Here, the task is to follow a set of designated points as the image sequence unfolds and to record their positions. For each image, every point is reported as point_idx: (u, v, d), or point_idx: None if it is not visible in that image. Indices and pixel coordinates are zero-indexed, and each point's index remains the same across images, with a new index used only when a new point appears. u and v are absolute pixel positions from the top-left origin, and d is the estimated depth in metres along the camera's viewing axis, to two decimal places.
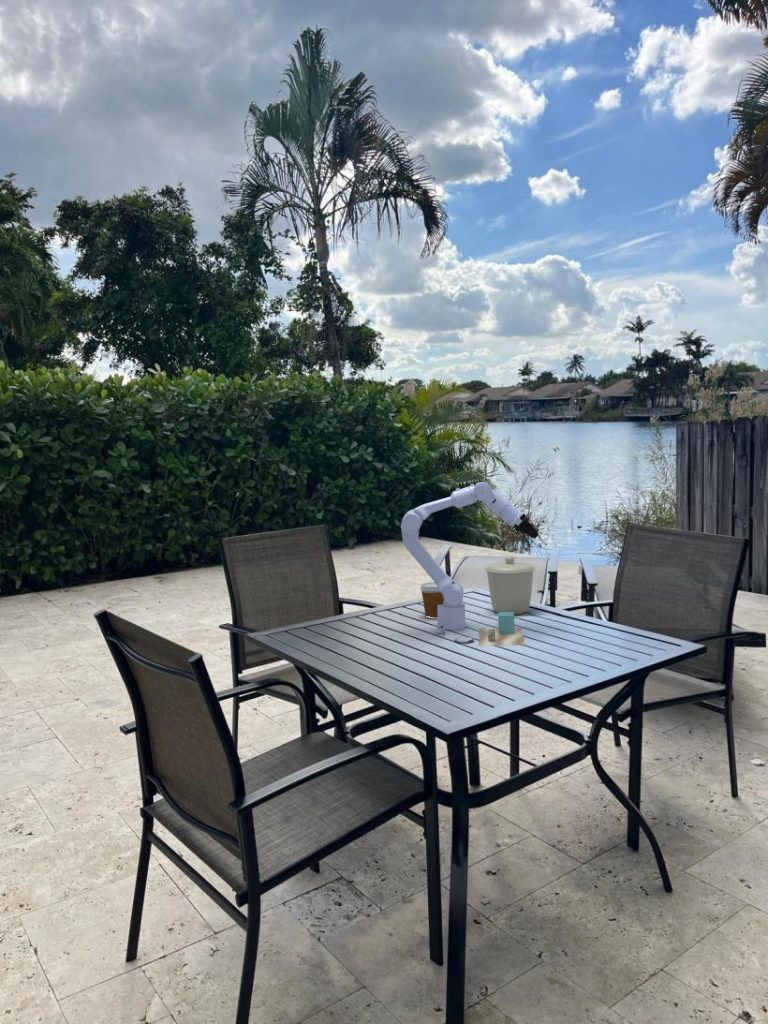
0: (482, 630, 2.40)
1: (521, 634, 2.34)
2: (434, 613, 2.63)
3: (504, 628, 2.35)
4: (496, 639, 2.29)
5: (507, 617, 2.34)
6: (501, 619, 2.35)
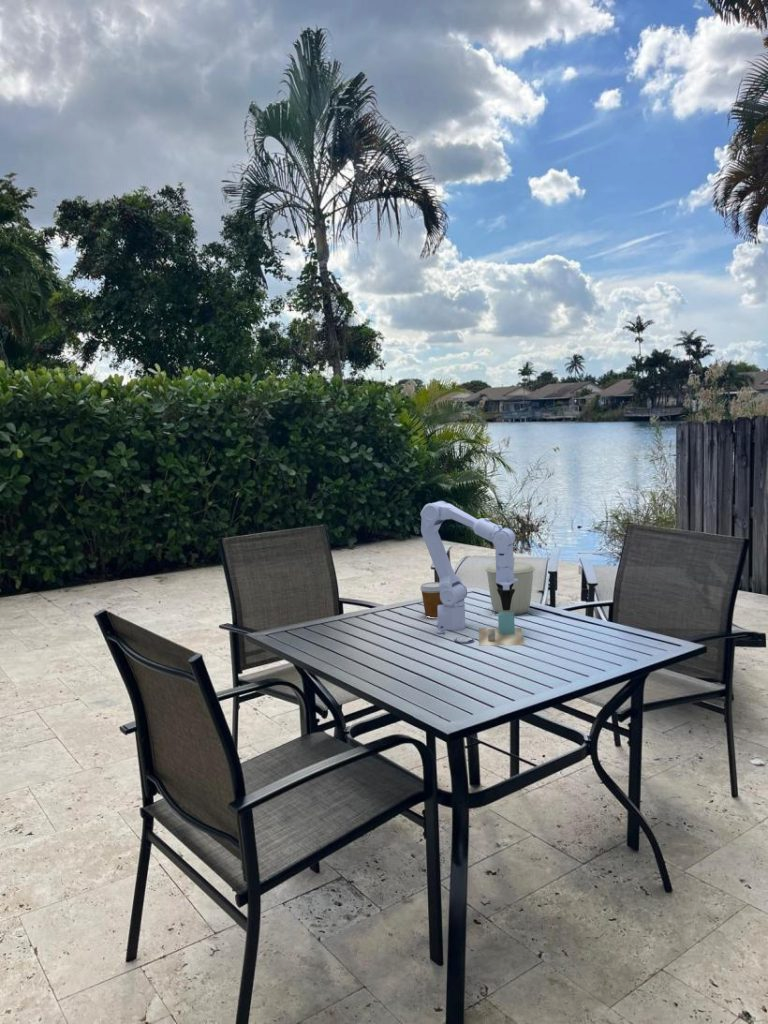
0: (482, 630, 2.40)
1: (521, 634, 2.34)
2: (434, 613, 2.63)
3: (504, 628, 2.35)
4: (496, 639, 2.29)
5: (507, 617, 2.34)
6: (501, 619, 2.35)
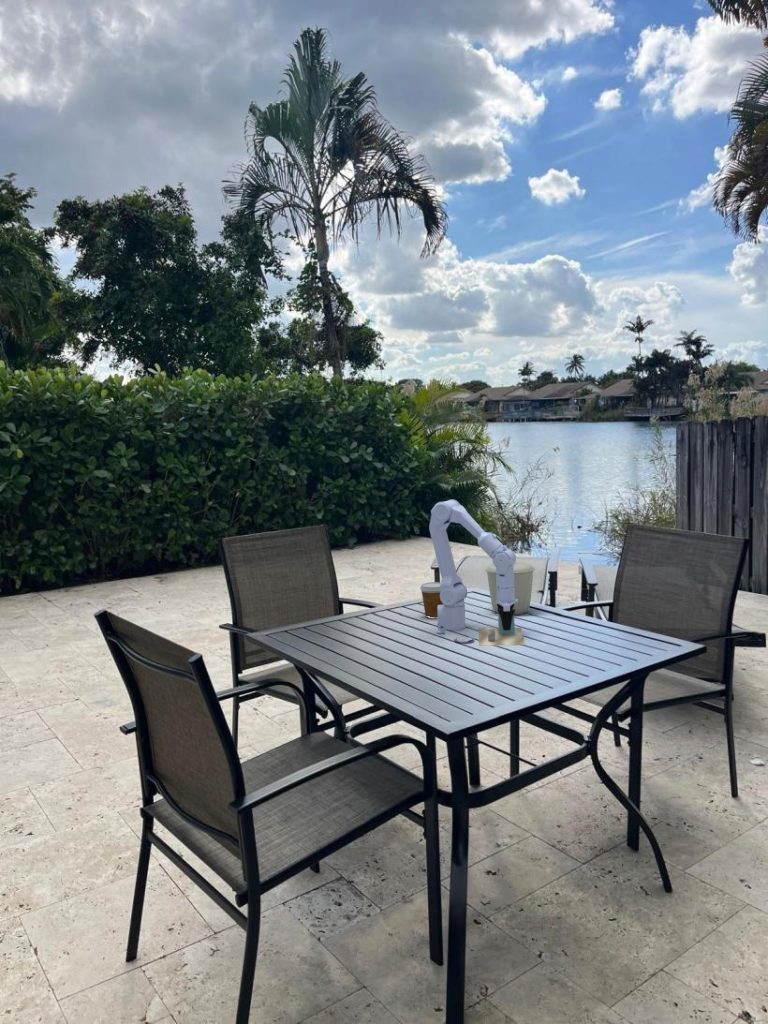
0: (482, 630, 2.40)
1: (521, 634, 2.34)
2: (434, 613, 2.63)
3: None
4: (496, 639, 2.29)
5: None
6: None
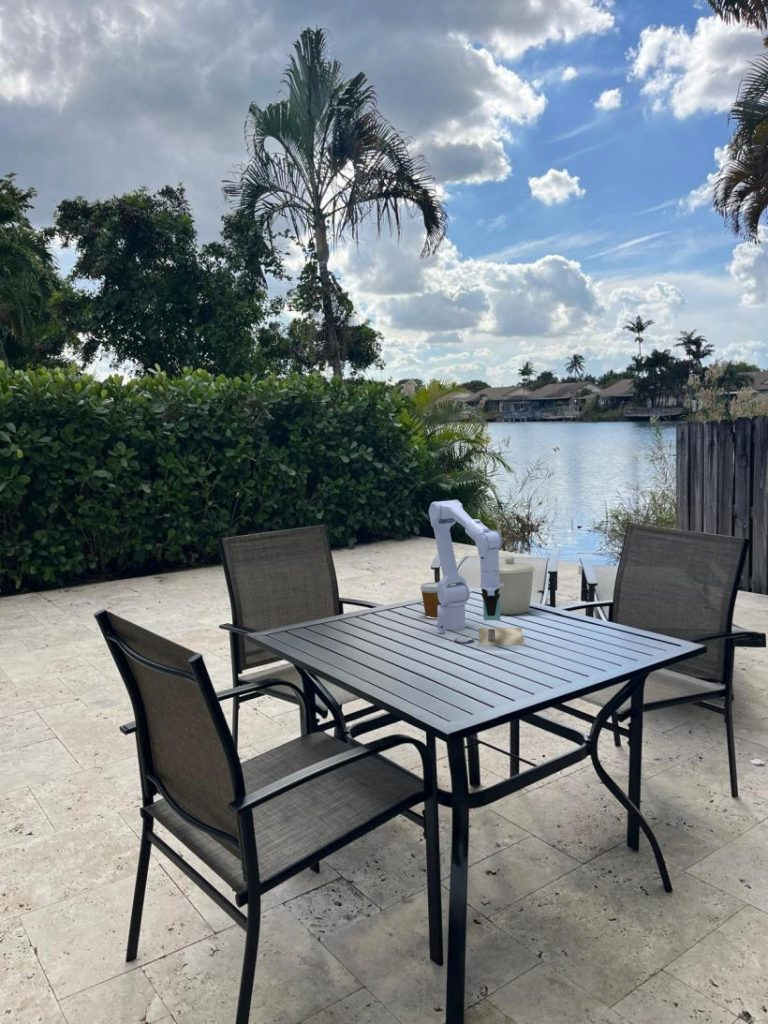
0: (482, 630, 2.40)
1: (521, 634, 2.34)
2: (434, 613, 2.63)
3: None
4: (496, 639, 2.29)
5: None
6: None
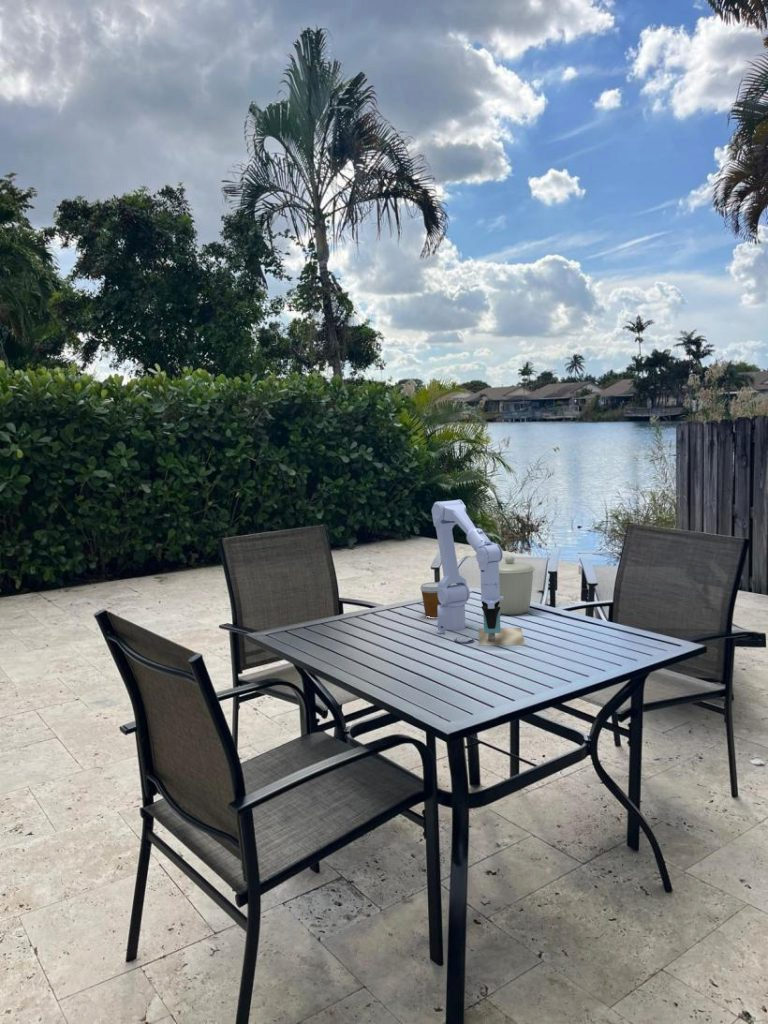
0: (482, 630, 2.40)
1: (521, 634, 2.34)
2: (434, 613, 2.63)
3: None
4: (496, 639, 2.29)
5: None
6: None
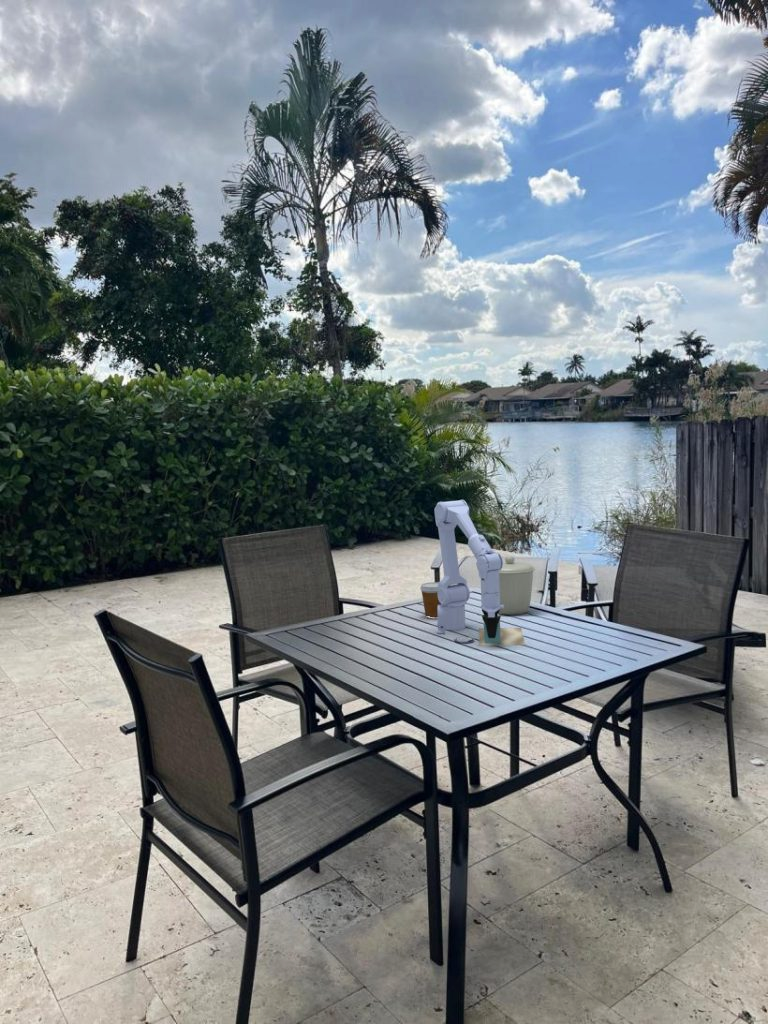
0: (482, 630, 2.40)
1: (521, 634, 2.34)
2: (434, 613, 2.63)
3: None
4: None
5: None
6: None
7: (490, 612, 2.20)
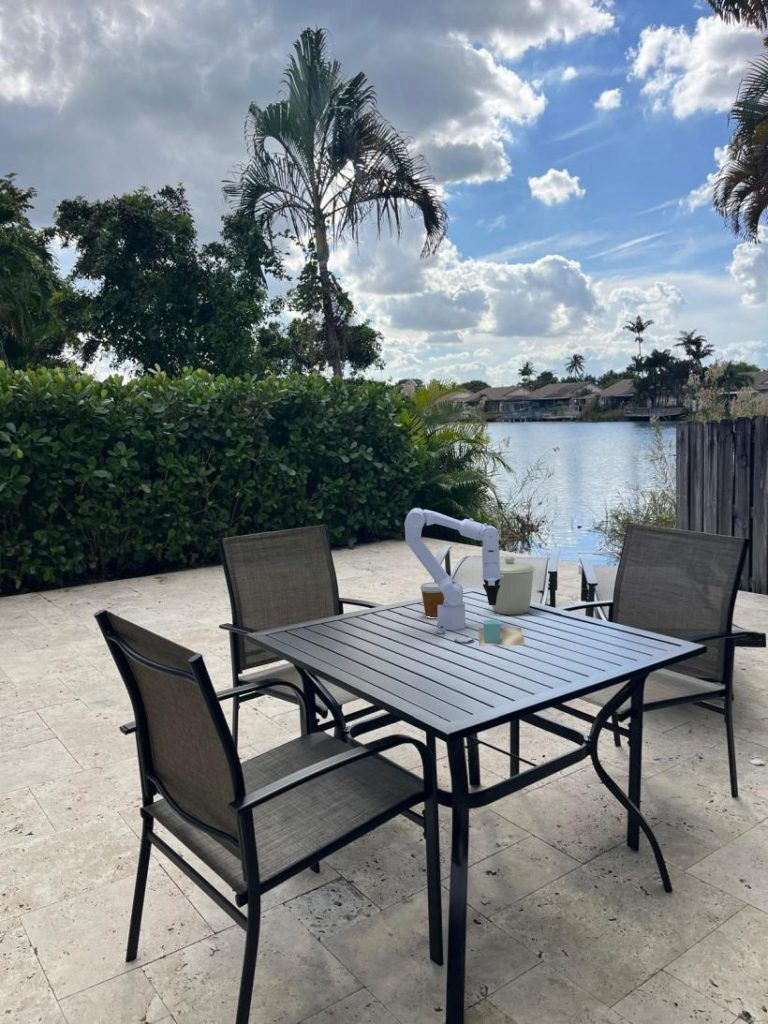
0: (482, 630, 2.40)
1: (521, 634, 2.34)
2: (434, 613, 2.63)
3: (489, 637, 2.25)
4: None
5: (493, 625, 2.25)
6: (486, 627, 2.25)
7: (490, 580, 2.36)
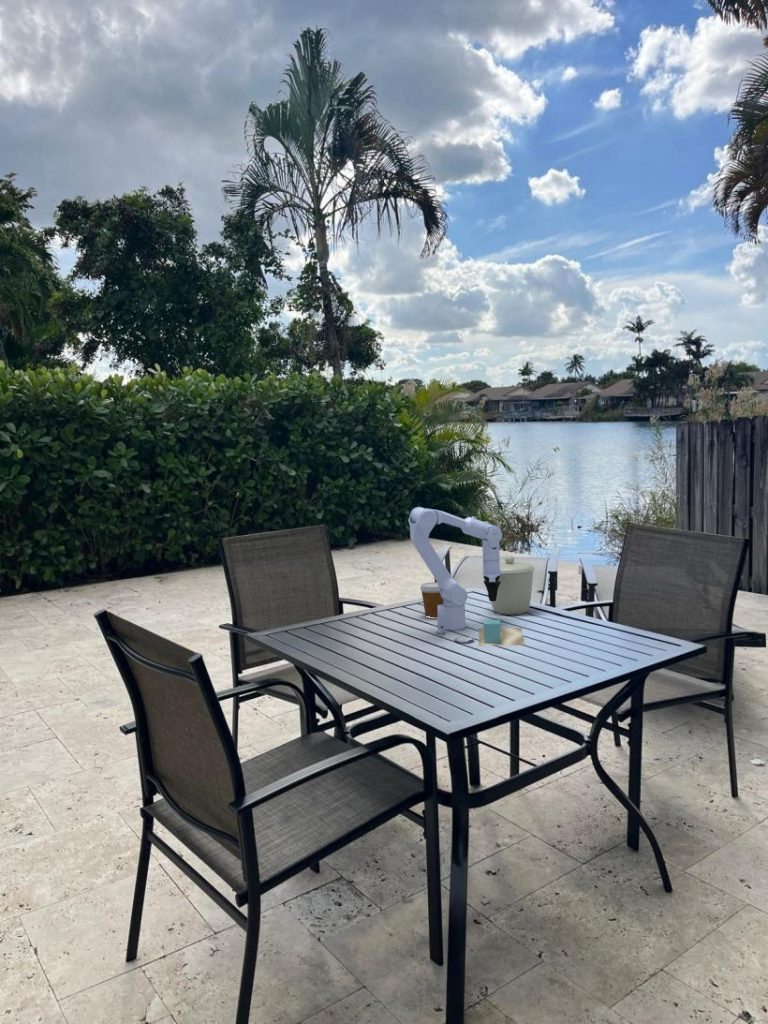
0: (482, 630, 2.40)
1: (521, 634, 2.34)
2: (434, 613, 2.63)
3: (489, 637, 2.25)
4: None
5: (493, 625, 2.25)
6: (486, 627, 2.25)
7: (491, 577, 2.42)
